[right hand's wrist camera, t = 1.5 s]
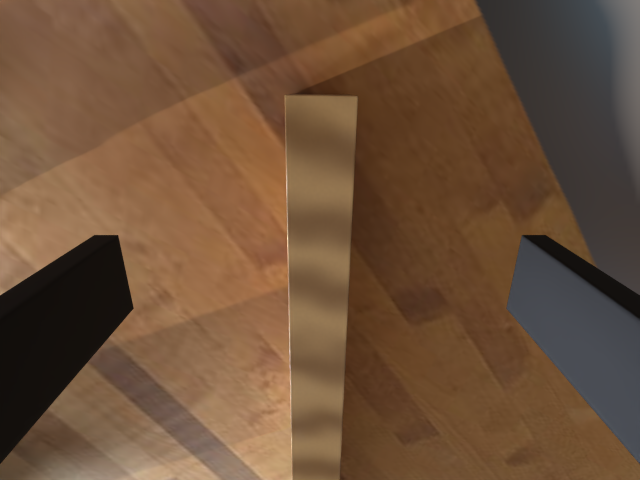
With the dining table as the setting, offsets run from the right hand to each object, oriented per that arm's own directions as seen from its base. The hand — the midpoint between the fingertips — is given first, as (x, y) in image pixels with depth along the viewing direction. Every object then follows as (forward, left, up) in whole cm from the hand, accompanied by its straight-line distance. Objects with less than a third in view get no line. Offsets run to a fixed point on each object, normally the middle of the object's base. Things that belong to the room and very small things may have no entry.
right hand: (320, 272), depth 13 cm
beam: (-10, -29, -26) cm, 40 cm away
